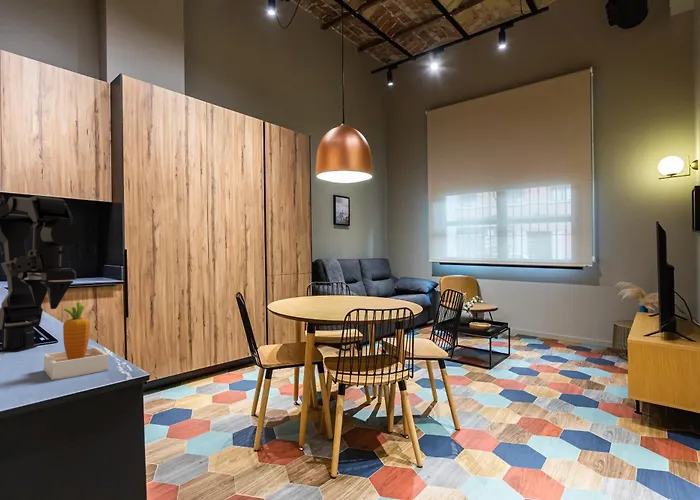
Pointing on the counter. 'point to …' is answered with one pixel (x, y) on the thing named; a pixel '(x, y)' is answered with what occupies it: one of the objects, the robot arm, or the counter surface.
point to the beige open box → (75, 364)
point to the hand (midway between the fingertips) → (45, 307)
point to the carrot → (76, 333)
